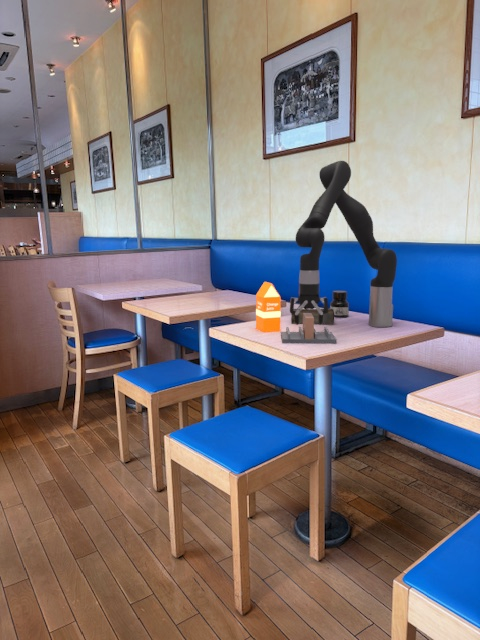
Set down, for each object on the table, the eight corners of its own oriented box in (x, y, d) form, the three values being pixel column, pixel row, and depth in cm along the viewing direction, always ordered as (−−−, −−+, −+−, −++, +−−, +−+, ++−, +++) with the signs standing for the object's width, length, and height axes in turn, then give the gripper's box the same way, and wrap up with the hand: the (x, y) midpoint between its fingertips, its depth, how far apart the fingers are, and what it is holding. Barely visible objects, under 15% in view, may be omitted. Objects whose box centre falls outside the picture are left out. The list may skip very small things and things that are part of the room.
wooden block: (310, 333, 189) (311, 313, 187) (313, 338, 179) (314, 317, 178) (302, 333, 189) (302, 313, 188) (304, 338, 179) (305, 317, 178)
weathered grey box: (291, 321, 222) (291, 307, 221) (333, 322, 220) (334, 307, 218) (290, 324, 214) (291, 309, 213) (334, 325, 212) (335, 310, 211)
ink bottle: (327, 317, 229) (328, 292, 227) (329, 314, 238) (330, 290, 235) (348, 318, 227) (349, 293, 225) (349, 315, 235) (350, 290, 233)
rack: (331, 335, 191) (331, 327, 190) (336, 343, 178) (336, 334, 178) (280, 335, 192) (281, 326, 191) (282, 343, 179) (282, 334, 178)
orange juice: (272, 327, 208) (272, 281, 204) (280, 331, 199) (281, 283, 196) (255, 328, 205) (255, 281, 201) (263, 332, 197) (263, 284, 193)
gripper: (326, 280, 184) (325, 322, 187) (289, 281, 185) (289, 322, 188) (329, 283, 177) (328, 326, 180) (290, 283, 177) (290, 326, 180)
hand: (308, 324), depth 184 cm, fingers open, 8 cm apart
